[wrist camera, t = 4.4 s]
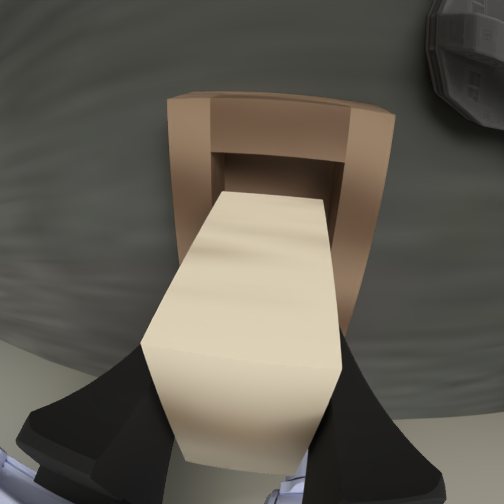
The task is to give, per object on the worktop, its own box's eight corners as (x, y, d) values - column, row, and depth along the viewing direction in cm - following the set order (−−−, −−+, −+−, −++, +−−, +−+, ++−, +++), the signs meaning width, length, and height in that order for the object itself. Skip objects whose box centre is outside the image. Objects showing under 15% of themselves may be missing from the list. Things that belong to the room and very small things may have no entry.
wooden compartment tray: (314, 387, 29) (313, 422, 25) (211, 376, 30) (202, 409, 26) (374, 104, 15) (395, 115, 12) (193, 91, 16) (167, 99, 13)
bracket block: (302, 327, 16) (294, 476, 9) (225, 318, 17) (185, 461, 10) (322, 199, 12) (342, 368, 6) (222, 191, 13) (140, 343, 6)
